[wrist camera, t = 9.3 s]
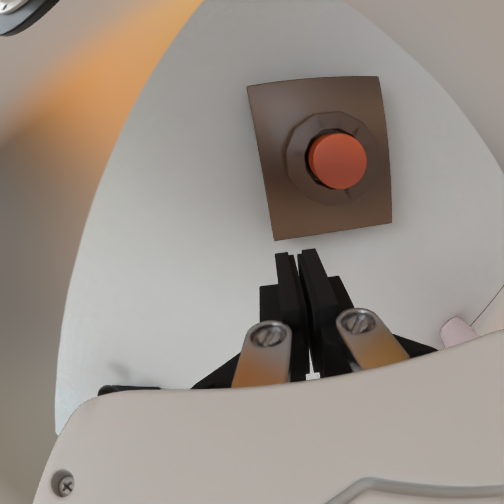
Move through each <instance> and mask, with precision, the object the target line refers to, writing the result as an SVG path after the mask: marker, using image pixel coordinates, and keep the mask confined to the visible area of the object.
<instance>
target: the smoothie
mask: <svg viewBox="0 0 504 504" xmlns="http://www.w3.org/2000/svg"><path fill="white" fill-rule="evenodd" d="M440 337H441V339H442V341H443V343H444V345H445V348H448V347H451V346H454V345H457V344H460V343H462V342H465V341H468V340H471V339H474V338H477V337H480V336H479V335H478V334H477V333H476V332H475V331H474V330H473V329H471V328H470V327H469V326H468V325H467V324H466V323H465V322H464V321H463V320H462V319H461V318H459V317H455V318H452V319H450V320H449V321H448V322H447V323H446V324H445V325H444V326H443V327H442V329H441V332H440Z"/></svg>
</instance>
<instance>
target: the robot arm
mask: <svg viewBox="0 0 504 504" xmlns="http://www.w3.org/2000/svg"><path fill="white" fill-rule="evenodd" d="M27 1H28V0H0V14H8V13H11V12H13V11H15V10H17V9H18V8H19V7H21V6H22V5H24V4H25V3H26V2H27ZM297 259H298V269H299V275H298V271H297V267H296V263H295V259H294V255H288V252H284V253H276V254H275V260H276V268H277V276H278V284H275V285H267V286H260V323H257V324H256V325H254V326H252V327H251V328H250V329H249V330H248V332H247V334H246V336H245V340H244V343H243V347H242V350H241V352H240V353H239V354H237V355H236V356H235V357H233V358H232V359H231V360H229V361H228V362H226V363H225V364H224V365H222V366H221V367H219V368H218V369H217V370H215V371H214V372H212V373H211V374H209V375H208V376H207V377H205V378H204V379H202V380H201V381H199V382H198V383H196V384H195V385H194V386H193V387H192V388H191V389H177V390H128V391H121V392H113V393H109V394H105V395H101V396H98V397H95V398H92V399H90V400H88V401H86V402H84V403H83V404H81V405H80V406H79V407H78V408H77V409H76V410H75V411H74V412H73V414H72V415H71V416H70V418H69V419H68V421H67V423H66V424H65V426H64V428H63V429H62V431H61V433H60V435H59V437H58V439H57V441H56V443H55V446H54V448H53V450H52V452H51V454H50V457H49V459H48V461H47V464H46V467H45V469H44V472H43V475H42V478H41V480H40V483H39V486H38V489H37V493H36V495H35V499H34V502H33V504H504V329H503V330H499V331H495V332H491V333H488V334H486V335H483V336H480V337H477V338H474V339H471V340H468V341H465V342H462V343H460V344H457V345H454V346H451V347H448V348H445V349H442V350H437V349H435V348H433V347H430V346H427V345H424V344H421V343H418V342H415V341H412V340H409V339H406V338H403V337H400V336H398V335H395V334H392V333H391V332H390V330H389V329H388V328H387V327H386V325H385V324H384V323H383V322H382V320H381V319H380V318H379V317H378V315H376V314H375V313H374V312H372V311H370V310H368V309H364V308H354V306H353V304H352V301H351V299H350V297H349V295H348V293H347V291H346V289H345V287H344V285H343V283H342V281H341V279H340V277H339V276H333V277H327V274H326V272H325V270H324V267H323V265H322V263H321V261H320V258H319V256H318V254H317V251H316V249H315V248H314V249H306V250H302V254H297ZM309 349H310V354H311V359H312V365H313V370H314V373H316V372H319V373H320V379H313V380H306V374H309V373H310V362H309Z"/></svg>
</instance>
